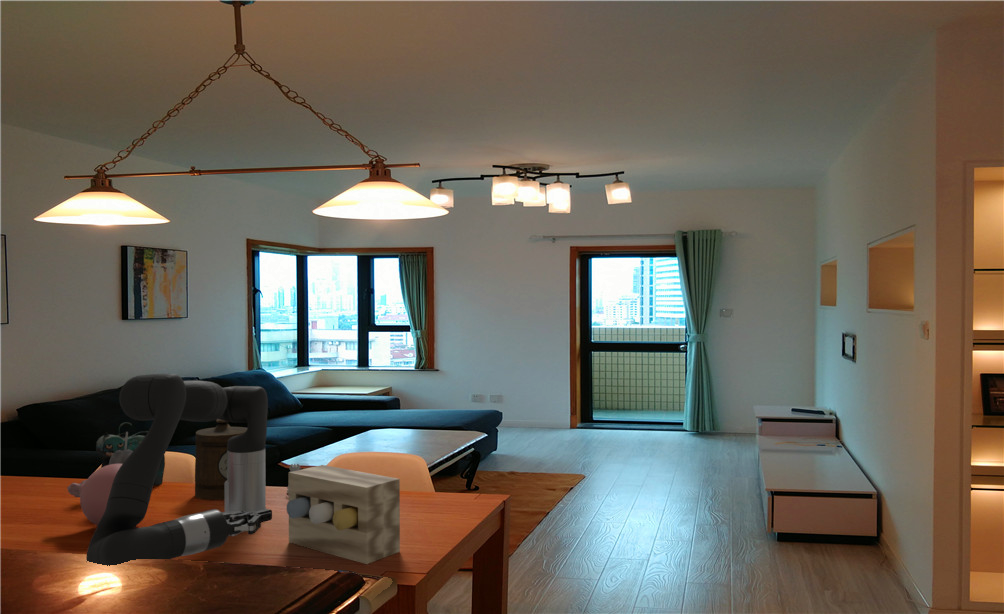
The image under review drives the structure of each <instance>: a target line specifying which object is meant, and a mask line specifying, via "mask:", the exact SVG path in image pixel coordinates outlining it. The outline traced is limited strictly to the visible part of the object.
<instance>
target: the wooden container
mask: <svg viewBox="0 0 1004 614" xmlns="http://www.w3.org/2000/svg"><path fill="white" fill-rule="evenodd" d="M215 421H216V422H215V423H216V424H217V425H216V426H215V427H208V428H202V429H199V430H197V431H196V432H195V456H194V457H195V460H194V461H195V462H194V497H195V498H197V499H199V500H203V501H204V500H205V501H224V483H225V481H227V442H228V440H229V439H230V438H232V437H235V436H238V435H240V434H243V433H244V432H246V431H247V428H248V427H245V426H244V427H243V426H231V425H230V424H229V422H227V421H224V420H220V419H216V420H215Z"/></svg>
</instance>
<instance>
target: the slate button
mask: <svg viewBox="0 0 1004 614" xmlns="http://www.w3.org/2000/svg"><path fill="white" fill-rule="evenodd" d="M310 508H311V497H308V496H306V497H302V498H298V499H294V500H290V501H289V500H288V502H287V503H286V514H287V515H288V518H289V517H291V518H293V519H294V518H298V517H301V516H305V515H308V514H309V510H310Z"/></svg>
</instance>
